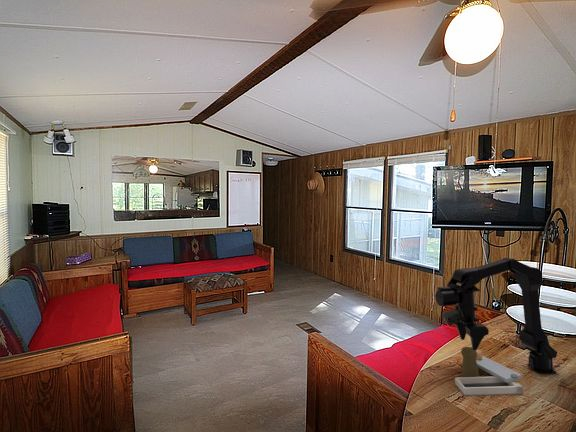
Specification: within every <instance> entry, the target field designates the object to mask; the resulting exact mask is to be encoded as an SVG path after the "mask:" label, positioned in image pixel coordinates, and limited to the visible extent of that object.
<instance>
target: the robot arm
mask: <svg viewBox="0 0 576 432" xmlns="http://www.w3.org/2000/svg"><path fill="white" fill-rule="evenodd" d="M505 272H510V273H512V274H513V275H514V277H515V281H516V283H517V285H518V286H519V287H520V289H521V295H522V296H521V297H522V309H523V314H524V315H523V318H524V327H523V328H522V329H519V330H518V333H519V341H520V342H521V344H522V346H524V347H525V350H527V351H528V353H529V354H528V363H527V367H529V368H530V369H532V370H533V371H534V372H536V374H539V375H540V374H557V370H554V367H553V366H554V365H553V364H554V363H553V359H555V358H556V357H557V354H558V351H557V350H555V349H554V348H553V347H552V346H551V345H550V341H549V338H548V335H547V334H546V332H545V331H544V330H543V328H542V319H541V309H540V296H539V289H540V288H541V286H542V284H543V272H542V270H540V269H539V268H538V267H534V266H529V265H527V264H524V263H523V262H520V261H518V260H517V259H515V258H511V257H503V258H501V259H499V260H496V261H492V262H489V263H485V264H483V265H482V264H481V265H479V266H477V267H464V268H458V269H455V270H454V272H453V274H452V277H451V278H450V279H449V281H448V283H447V285H446V286H438V287H437V290H436V292H435V294H434V299H435V301H436V304H437V305H438V306H440V307H446V306H454V308H453V309H450V310H447V311H445V312H443V313H441V317H442V319H443V321H444V323H446V324H447V326H453V325H455V327H456V329H457V332H458V334H459V337H460V339H461V340H462V341H464V340H465V338H466V335H468V336H469V338H470V342H471V348H473V350H477V349H479V346H480V345H481V342H482V341H483V339H484V338H485V337H486V336H488V335H490V332H489V328H488V327H487V326H486V325H484V324H483V323H481V322H479V319H478V317H476V311H478V307H477V306H476V304H475V292H480V291H481V290H480V288H478V287H477V286H476V285H478V284H479V283H481V281H482V280H483V279H486V278H489V277H492V276H495V275H499V274H502V273H505Z"/></svg>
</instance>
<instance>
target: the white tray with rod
mask: <svg viewBox="0 0 576 432" xmlns="http://www.w3.org/2000/svg"><path fill="white" fill-rule="evenodd" d="M454 384H455V386H456V387H457V388H458V389H459V391H460V392H461V393H462V394H463V395H464V396H465V397H467V396H469V397H470V396H499V395H500V396H501V395H502V396H503V395H506V396H507V395H523V394H524V390H523V388H524V387H523V386H522V385H521V384H520V383H519V382H517V381H516V380H514V381H510V382H507V383H506V382H505V381H503V380H501V379H499V378H497V377H495V376H493V375H491V376H479V377H462V376H461V377H460V376H459V377H458V376H457V377H454Z"/></svg>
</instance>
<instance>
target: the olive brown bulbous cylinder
mask: <svg viewBox="0 0 576 432" xmlns="http://www.w3.org/2000/svg"><path fill="white" fill-rule="evenodd" d="M460 353H461V355H462V367H461V377H480V372H479V367H477V362H476V357H477V352H476V350H473V348H472V346H463V347H462V348H461V351H460Z"/></svg>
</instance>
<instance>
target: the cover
mask: <svg viewBox="0 0 576 432" xmlns="http://www.w3.org/2000/svg"><path fill="white" fill-rule="evenodd" d="M476 352H477V357H476V362H477V367H478V369H481V370H483V371H484V372H486V373H488V374H490V375H491V376H495V377H497V378H499V379H501V380H503V381H505V382H506V383H507V382H510V381H514V380H515V381H516V380H517V381H518V380H520V379H523V375H522V374H520V373H519V372H518V371H517V372H516V371H515V370H512V369H511V368H509V367H506V366H504V364H503V365H502V364H500V363H498V362H496V361H494V360H492V359H490V358H488V357H486V356H484V355H483V351H482V350H481V349H479V348H477V350H476Z"/></svg>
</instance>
